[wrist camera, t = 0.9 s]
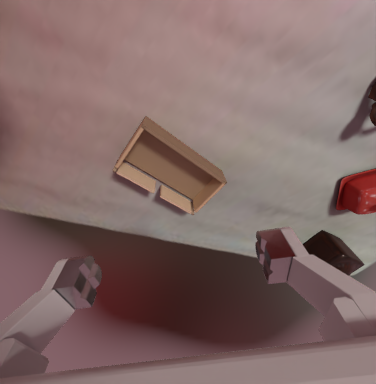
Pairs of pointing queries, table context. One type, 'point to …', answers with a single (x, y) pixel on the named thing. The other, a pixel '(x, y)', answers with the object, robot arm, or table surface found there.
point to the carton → (173, 163)
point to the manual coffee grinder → (333, 252)
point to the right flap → (176, 199)
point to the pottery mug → (375, 112)
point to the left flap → (135, 177)
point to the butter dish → (358, 193)
